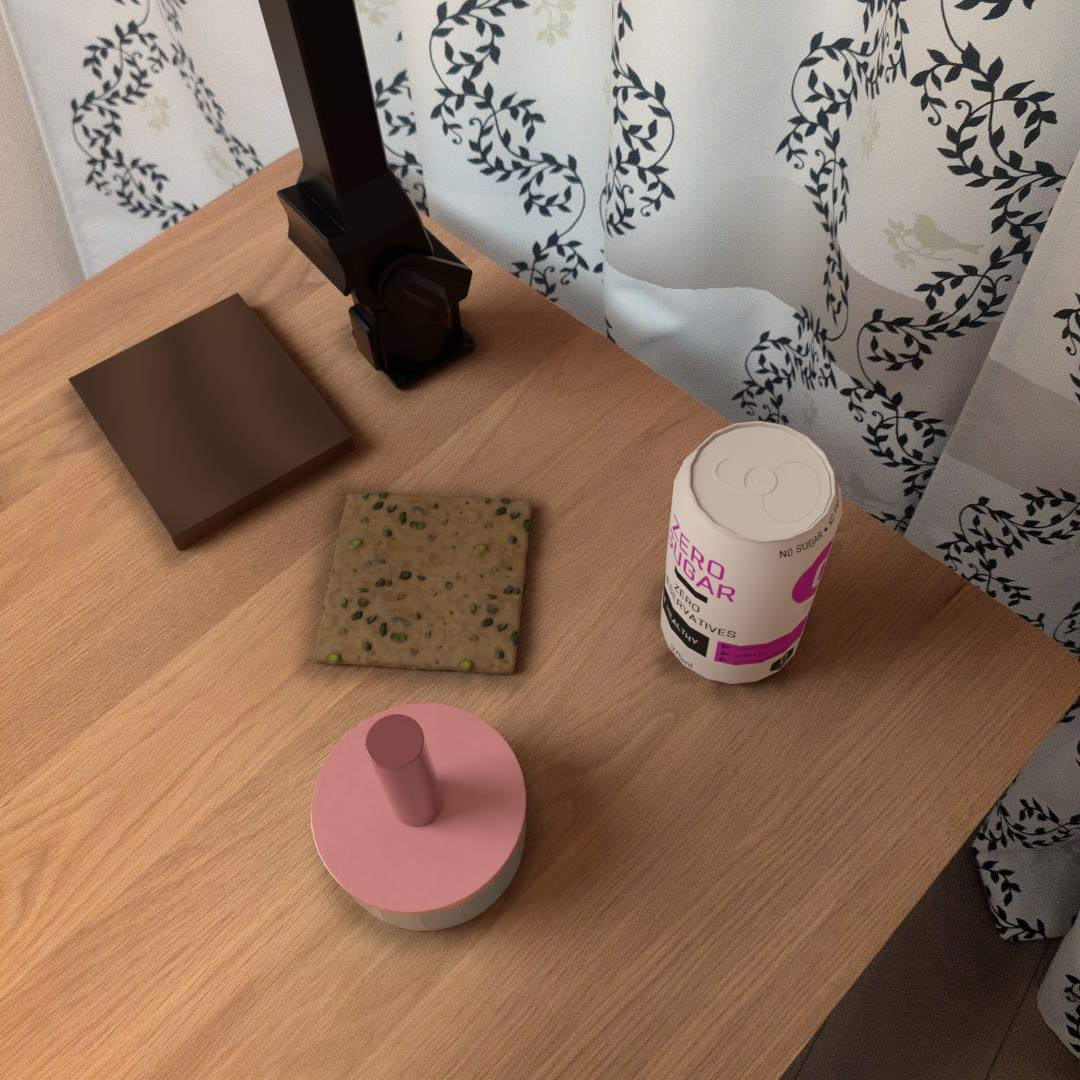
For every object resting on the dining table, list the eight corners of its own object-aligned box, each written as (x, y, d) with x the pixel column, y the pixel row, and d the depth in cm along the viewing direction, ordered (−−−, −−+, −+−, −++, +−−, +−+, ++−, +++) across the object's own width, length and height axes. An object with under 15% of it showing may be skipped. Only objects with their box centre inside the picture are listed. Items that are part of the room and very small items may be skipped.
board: (242, 306, 83) (237, 291, 81) (356, 449, 76) (352, 435, 74) (75, 392, 79) (67, 378, 78) (178, 551, 72) (171, 538, 71)
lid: (451, 674, 62) (431, 590, 55) (569, 831, 58) (565, 765, 50) (277, 788, 59) (228, 717, 52) (386, 964, 55) (351, 916, 47)
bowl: (457, 710, 65) (448, 676, 62) (563, 853, 61) (561, 826, 57) (301, 814, 63) (282, 785, 59) (400, 972, 58) (386, 952, 54)
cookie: (345, 494, 74) (342, 486, 73) (534, 503, 73) (533, 495, 72) (310, 664, 67) (306, 657, 66) (516, 676, 66) (515, 669, 65)
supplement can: (818, 593, 69) (869, 442, 56) (773, 710, 65) (816, 577, 52) (690, 546, 71) (711, 391, 58) (638, 658, 67) (649, 517, 54)
